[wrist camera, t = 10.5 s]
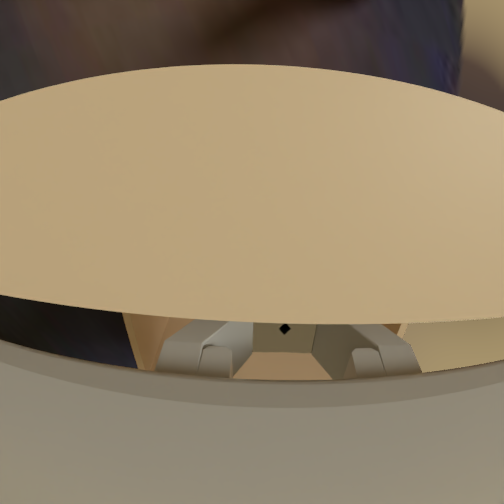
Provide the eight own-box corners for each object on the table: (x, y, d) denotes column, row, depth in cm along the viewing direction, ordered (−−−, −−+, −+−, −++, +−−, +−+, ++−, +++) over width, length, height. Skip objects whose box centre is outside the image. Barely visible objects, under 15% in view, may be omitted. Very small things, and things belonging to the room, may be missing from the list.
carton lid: (-180, 244, 1) (-182, 207, 1) (98, 194, 17) (98, 180, 17) (696, 279, 1) (701, 247, 1) (443, 210, 16) (444, 196, 16)
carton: (173, 299, 35) (143, 382, 25) (159, 152, 27) (98, 196, 17) (352, 306, 35) (378, 391, 24) (381, 162, 27) (443, 212, 16)
